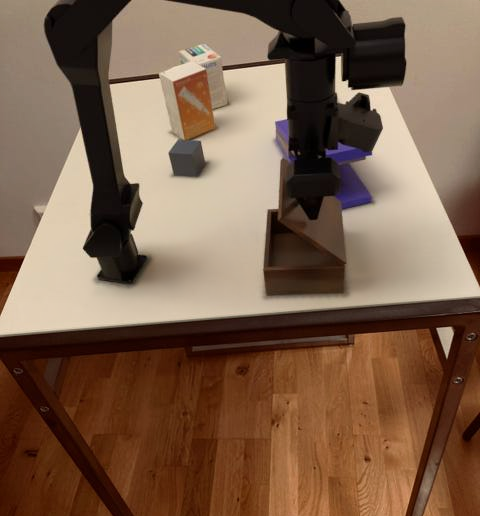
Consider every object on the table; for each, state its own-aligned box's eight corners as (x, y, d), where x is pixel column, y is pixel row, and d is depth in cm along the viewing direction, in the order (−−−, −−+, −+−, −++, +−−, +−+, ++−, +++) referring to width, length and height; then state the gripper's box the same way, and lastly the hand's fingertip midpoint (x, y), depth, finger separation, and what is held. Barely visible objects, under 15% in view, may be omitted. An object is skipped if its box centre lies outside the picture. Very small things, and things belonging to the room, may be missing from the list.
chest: (266, 295, 76) (263, 270, 72) (270, 234, 86) (267, 209, 82) (343, 293, 74) (344, 267, 71) (338, 231, 84) (339, 205, 80)
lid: (277, 220, 65) (303, 196, 62) (280, 160, 75) (302, 137, 72) (343, 266, 70) (369, 246, 67) (337, 204, 80) (360, 184, 77)
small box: (185, 142, 110) (172, 81, 100) (171, 132, 114) (157, 72, 104) (216, 128, 112) (206, 68, 103) (202, 119, 116) (191, 59, 106)
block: (196, 177, 100) (191, 154, 96) (173, 175, 102) (168, 152, 98) (205, 163, 103) (201, 140, 100) (183, 161, 105) (177, 139, 101)
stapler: (312, 215, 87) (311, 165, 80) (272, 139, 106) (268, 92, 99) (376, 201, 88) (380, 149, 81) (325, 127, 107) (325, 80, 100)
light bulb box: (186, 96, 125) (177, 50, 117) (211, 88, 126) (204, 42, 118) (202, 113, 118) (194, 65, 110) (229, 104, 119) (222, 56, 111)
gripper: (390, 125, 53) (378, 242, 64) (373, 53, 65) (365, 162, 76) (282, 133, 54) (290, 246, 66) (285, 61, 67) (291, 167, 78)
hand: (312, 202), depth 71 cm, fingers open, 7 cm apart
